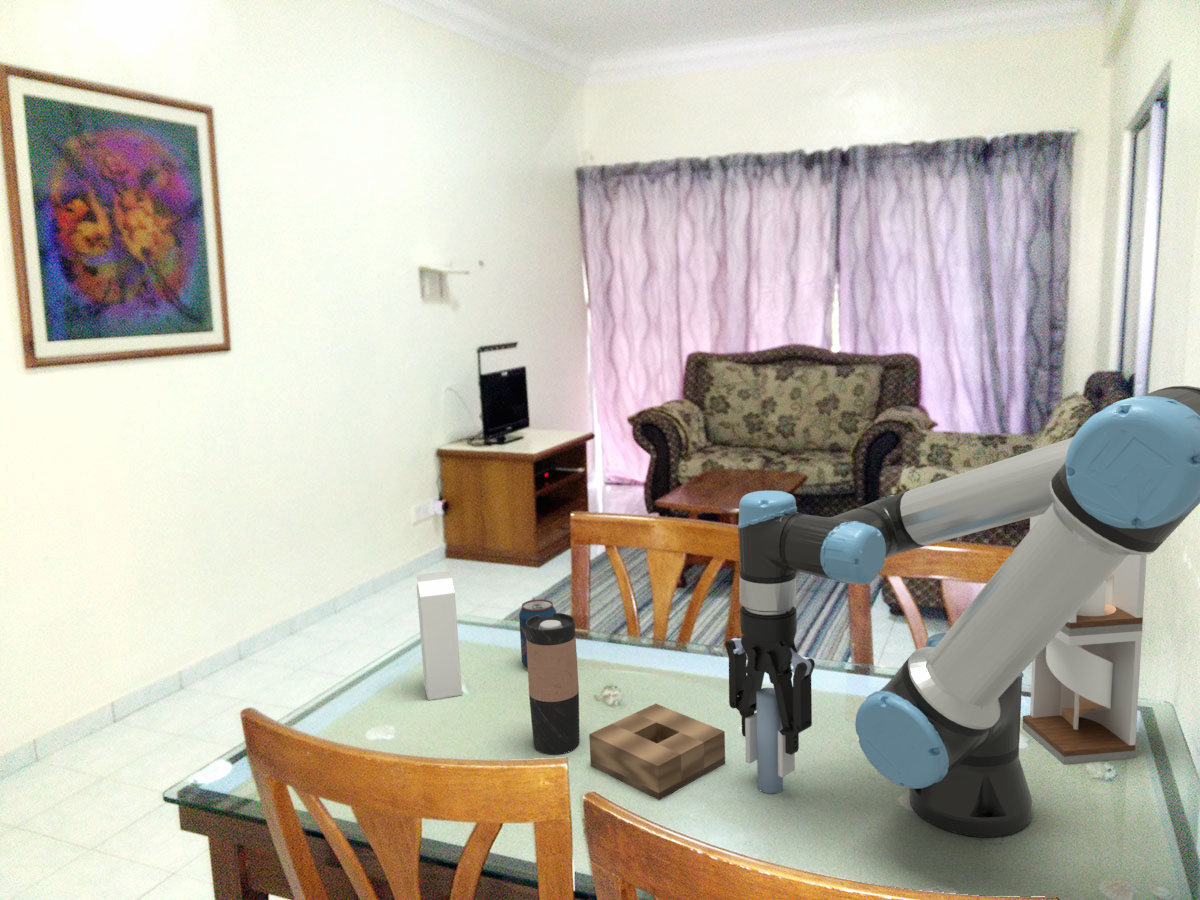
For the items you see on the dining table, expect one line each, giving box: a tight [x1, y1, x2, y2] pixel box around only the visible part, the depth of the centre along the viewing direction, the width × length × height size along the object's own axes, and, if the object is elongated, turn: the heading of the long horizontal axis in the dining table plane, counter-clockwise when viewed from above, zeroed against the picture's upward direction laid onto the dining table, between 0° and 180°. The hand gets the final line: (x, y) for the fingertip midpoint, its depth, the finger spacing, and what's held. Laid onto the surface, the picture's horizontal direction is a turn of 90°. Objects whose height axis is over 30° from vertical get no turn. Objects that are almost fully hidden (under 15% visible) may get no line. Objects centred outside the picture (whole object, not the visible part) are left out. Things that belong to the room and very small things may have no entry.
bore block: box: [588, 703, 726, 801], centre depth 143 cm, size 14×14×5 cm
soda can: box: [518, 598, 557, 670], centre depth 181 cm, size 7×7×12 cm
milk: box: [416, 569, 463, 701], centre depth 171 cm, size 6×6×22 cm
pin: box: [756, 687, 784, 794], centre depth 135 cm, size 4×4×14 cm
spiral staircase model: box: [1021, 514, 1148, 765], centre depth 142 cm, size 11×11×35 cm
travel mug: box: [526, 612, 580, 755], centre depth 150 cm, size 8×8×20 cm
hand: (770, 765), depth 136 cm, fingers open, 5 cm apart
